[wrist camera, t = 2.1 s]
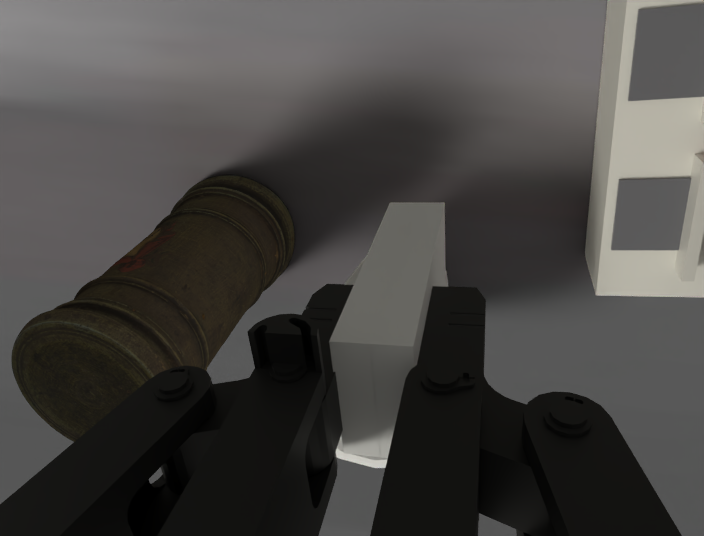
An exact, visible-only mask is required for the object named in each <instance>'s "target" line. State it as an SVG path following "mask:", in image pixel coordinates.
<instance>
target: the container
mask: <svg viewBox="0 0 704 536" xmlns="http://www.w3.org/2000/svg"><path fill="white" fill-rule="evenodd" d="M294 240H295V235H294V227H293V222H292V219H291V216H290V214H289V212H288V210H287V208H286V207H285V205H284V204H283V202H282V201H281V200H280V199H279V198H278V197H277V196H276V195H275V194H274V193H273V192H272V191H270V190H269V189H268V188H266V187H265V186H263V185H261V184H260V183H258V182H256V181H253V180H251V179H248V178H245V177H240V176H231V175H224V176H216V177H212V178H208V179H205V180H203V181H201V182H199V183H197V184H196V185H194V186H193V187H192V188H191V189H189V190H188V191H187V193H186V194H185V195H184V196H183V198H181V199H180V200H179V201H178V202H177V203H176V205H175V206H174V208H173V209H172V211H171V214H170V215H168V216H167V217H165V218H164V219H163V220H162V221H161V222H160V223H159V224H158V225H157V227H156V228H155V230H154V231H153V232H152V233H151V234H150V235H149V236H148V237H146V238H145V239H144V240H143V241H142V242H140V243H139V244H138V245H137V246H136V247H134V248H133V249H132V250H131V251H130V252H128V253H127V254H126V255H125V256H123V257H122V258H121V259H120V260H119V261H117V262H116V263H115V264H114V265H113V266H111V267H110V268H109V269H108V270H107V271H106V272H105V273H104V274H103V275H102V276H100V277H99V278H97V279H95V280H93V281H90V282H89V283H87V284H86V285H84V286H83V287H82V288H81V289H80V290H79V292H78V293H77V295H76V296H75V298H74V300H72V301H70V302H67V303H64V304H62V305H60V306H58V307H56V308H55V309H54V310H51V311H48V312H45V313H42V314H40V315H38V316H36V317H35V318H33V319H32V320H31V321H29V322H28V323H27V324H26V325H25V326H24V328H23V329H22V330H21V332H20V333H19V335H18V337H17V339H16V341H15V343H14V346H13V350H12V369H13V373H14V376H15V379H16V381H17V384H18V386H19V388H20V390H21V392H22V394H23V396H24V397H25V399H26V400H27V401H28V403H29V404H30V405H31V407H32V408H33V409H34V410H35V411H36V413H37V414H38V415H39V416H40V417H41V418H42V419H44V420H45V421H46V422H47V423H48V424H49V425H50V426H51V427H53V428H54V429H55V430H56V431H58V432H59V433H61V434H62V435H64V436H65V437H67V438H68V439H70V440H72V441H74V442H75V441H76V440H78V439H79V438H80V437H81V436H82V435H83V434H85V433H86V432H87V431H88V430H89V429H91V428H92V427H93V426H94V425H95V424H97V423H98V422H99V421H100V420H101V419H102V418H104V417H105V416H106V415H107V414H108V413H110V412H111V411H112V410H113V409H114V408H116V407H117V406H118V405H119V404H120V403H121V402H123V401H124V400H125V399H126V398H127V397H129V396H130V395H131V394H132V393H133V392H135V391H136V390H137V389H138V388H139V387H140V386H142V385H143V384H144V383H145V382H146V381H148V380H149V379H151V378H152V377H154V376H155V375H157V374H158V373H160V372H163V371H165V370H168V369H171V368H173V367H180V366H195V367H199V368H201V369H203V370H205V371H206V370H207V367H208V365H209V364H210V363H211V361H212V360H213V358H214V357H215V355H216V354H217V352H218V351H219V349H220V348H221V346H222V345H223V344H224V342H225V341H226V339H227V338H228V336H229V335H230V333H231V332H232V331H233V329H234V328H235V326H236V325H237V323H238V322H239V320H240V319H241V318H242V316H243V315H244V313H245V312H246V311H247V310H248V309H249V308H250V307H251V306H253V305H254V304H255V303H256V301H257V300H258V299H259V297H260V296H261V294H262V292H263V291H264V290H266V289H267V288H268V287H270V286H271V285H272V284H273V283H274V282H275V281H276V279H277V278H278V277H279V276H280V275H281V274H282V273H283V272H284V270H285V269H286V267H287V266H288V264H289V262H290V260H291V257H292V254H293V250H294Z"/></svg>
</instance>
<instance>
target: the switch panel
mask: <svg viewBox="0 0 704 536" xmlns="http://www.w3.org/2000/svg"><path fill="white" fill-rule="evenodd" d="M585 259H586V262H587V266H588V269H589V273H590V276H591V280H592V283H593V287H594V290H595V294H596V295H600V296H657V297H704V0H608V2H607V13H606V24H605V35H604V46H603V57H602V68H601V79H600V90H599V101H598V113H597V124H596V135H595V146H594V157H593V168H592V179H591V190H590V201H589V212H588V223H587V234H586V245H585Z"/></svg>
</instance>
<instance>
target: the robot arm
mask: <svg viewBox="0 0 704 536" xmlns="http://www.w3.org/2000/svg"><path fill="white" fill-rule="evenodd" d="M485 308H486V300H485V298H484V297H483V296H482V294H481V293H480V292H479V290H478V289H477V288H471V287H446V265H445V202H390V203H389V206H388V208H387V210H386V213H385V215H384V217H383V219H382V222H381V224H380V226H379V229H378V231H377V233H376V235H375V238H374V240H373V242H372V245H371V247H370V249H369V251H368V254H367V256H366V258H365V261H364V263H363V265H362V267H361V270H360V272H359V274H358V277H357V279H356V281H355V283H354V285H342V284H326V285H325V286H324V287H322V288H321V289H320V290H318V291H317V292H316V293H314V294H313V295H312V297H311V299H310V301H309V303H308V304H307V306H306V310H304V312H303V314H302V315H298V314H280V315H276V316H272V317H269V318H266V319H264V320H262V321H260V322H258V323H256V324H255V325H254V326H253V327H252V328H251V329H250V330H249V331H248V336H249V341H250V346H251V351H252V355H253V360H254V365H255V369H254V371H253V373H252V374H251V376H250V378H247V379H243V380H238V381H232V382H225V383H218V384H212V381H211V378H210V376H209V374H208V373H207V371H205V370H203V369H201V368H199V367H195V366H180V367H173V368H171V369H168V370H165V371H163V372H160V373H158V374H157V375H155V376H154V377H152V378H151V379H149V380H148V381H146V382H145V383H144V384H143V385H142V386H140V387H139V388H138V389H137V390H136V391H135V392H133V393H132V394H131V395H130V396H129V397H127V398H126V399H125V400H124V401H123V402H121V403H120V404H119V405H118V406H117V407H116V408H114V409H113V410H112V411H111V412H110V413H108V414H107V415H106V416H105V417H104V418H102V419H101V420H100V421H99V422H98V423H97V424H95V425H94V426H93V427H92V428H91V429H89V430H88V431H87V432H86V433H85V434H83V435H82V436H81V437H80V438H79V439H78V440H76V441H75V442H74V443H73V444H72V445H70V446H69V447H68V448H67V449H66V450H64V451H63V452H62V453H61V454H60V455H59V456H57V457H56V458H55V459H54V460H53V461H51V462H50V463H49V464H48V465H47V466H45V467H44V468H43V469H42V470H41V471H40V472H38V473H37V474H36V475H35V476H34V477H32V478H31V479H30V480H29V481H28V482H26V483H25V484H24V485H23V486H22V487H21V488H19V489H18V490H17V491H16V492H15V493H13V494H12V495H11V496H10V497H9V498H7V499H6V500H5V501H4V502H3V503H2V504H0V536H318V535H319V532H320V528H321V525H322V522H323V519H324V515H325V512H326V509H327V506H328V502H329V499H330V496H331V493H332V489H333V486H334V483H335V479H336V476H337V458H336V449H337V446H338V443H339V440H340V437H341V436H342V443H343V451H344V453H346V454H355V455H365V456H374V457H383V458H388V459H387V463H386V468H385V472H384V477H383V481H382V486H381V490H380V495H379V499H378V504H377V508H376V512H375V517H374V521H373V526H372V530H371V535H370V536H478V520H479V513H480V514H483V515H485V516H487V517H490V518H492V519H494V520H497V521H499V522H501V523H503V524H506V525H508V526H510V527H513V528H515V529H516V531H517V536H682V535H681V534H680V532H679V530H678V529H677V527H676V525H675V524H674V522H673V520H672V519H671V517H670V515H669V514H668V512H667V510H666V509H665V507H664V505H663V503H662V502H661V500H660V498H659V497H658V495H657V493H656V492H655V490H654V488H653V487H652V485H651V483H650V482H649V480H648V478H647V477H646V475H645V473H644V472H643V470H642V468H641V467H640V465H639V463H638V462H637V460H636V458H635V457H634V455H633V453H632V451H631V450H630V448H629V446H628V445H627V443H626V441H625V440H624V438H623V436H622V435H621V433H620V431H619V430H618V428H617V426H616V425H615V423H614V421H613V420H612V418H611V416H610V415H609V414H608V413H607V412H606V411H605V410H604V409H603V408H602V406H601V405H599V404H597V403H595V402H594V401H592V400H590V399H589V398H587V397H584V396H580V395H577V394H573V393H569V392H550V393H546V394H541V395H538V396H537V397H535V398H534V399H532V400H531V401H529V402H528V404H527V405H526V404H523V403H520V402H517V401H514V400H511V399H509V398H506V397H504V396H503V395H501V394H499V393H498V392H496V391H495V390H494V389H493V388H492V387H491V386H490V385H489V384H488V383H487V381H486V379H485V377H484V348H485ZM160 467H161V470H162V473H163V475H162V476H161V477H160V478H159V479H158V480H156V481H155V482H154V483H152V484H150V483H149V480H148V479H149V478H150V477H151V476H152V475H153V474H154V473H155V472H156V471H157V470H158V469H159V468H160Z"/></svg>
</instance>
